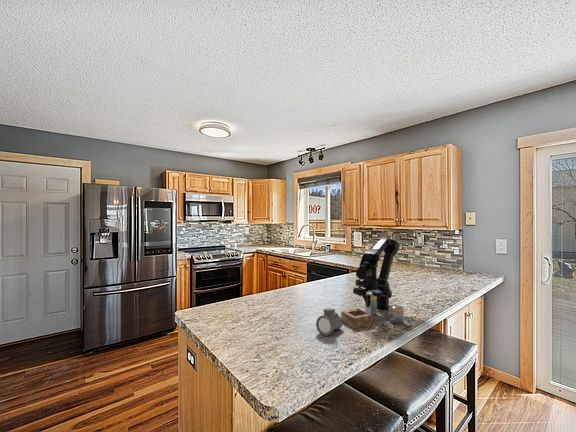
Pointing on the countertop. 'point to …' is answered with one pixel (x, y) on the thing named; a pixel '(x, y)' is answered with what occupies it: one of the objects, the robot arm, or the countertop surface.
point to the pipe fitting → (328, 322)
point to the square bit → (372, 305)
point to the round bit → (396, 314)
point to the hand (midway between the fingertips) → (371, 306)
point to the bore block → (356, 318)
